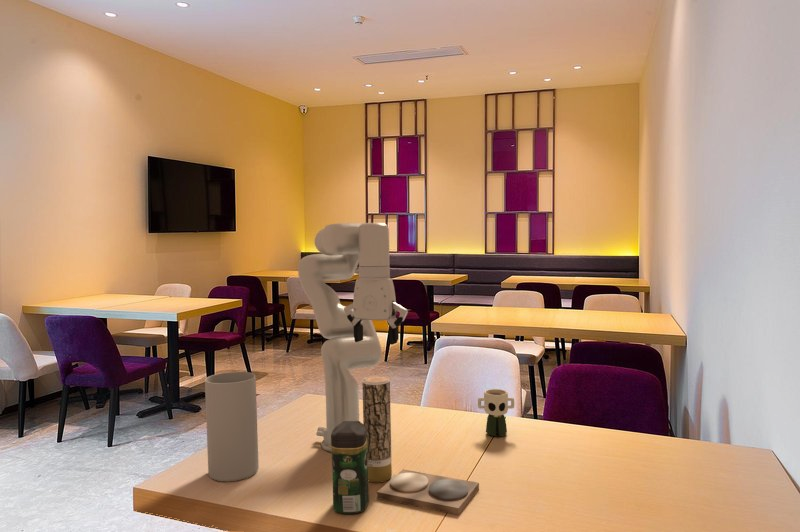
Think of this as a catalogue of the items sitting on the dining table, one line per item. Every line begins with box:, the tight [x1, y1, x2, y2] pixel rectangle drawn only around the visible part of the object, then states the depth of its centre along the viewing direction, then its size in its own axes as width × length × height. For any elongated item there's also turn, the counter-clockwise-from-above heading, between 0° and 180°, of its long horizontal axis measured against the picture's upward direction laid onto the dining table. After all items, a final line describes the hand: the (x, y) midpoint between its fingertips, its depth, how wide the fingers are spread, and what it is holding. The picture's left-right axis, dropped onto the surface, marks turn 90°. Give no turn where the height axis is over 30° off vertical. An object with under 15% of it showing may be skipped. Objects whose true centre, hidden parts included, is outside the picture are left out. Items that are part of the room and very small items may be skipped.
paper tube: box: [361, 375, 393, 484], centre depth 144 cm, size 7×7×25 cm
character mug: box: [477, 388, 515, 437], centre depth 174 cm, size 11×7×13 cm, turn 86°
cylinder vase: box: [204, 371, 260, 482], centre depth 149 cm, size 12×12×25 cm
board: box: [376, 468, 480, 516], centre depth 135 cm, size 20×14×2 cm
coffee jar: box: [330, 420, 370, 515], centre depth 129 cm, size 10×8×19 cm
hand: (375, 342), depth 143 cm, fingers open, 9 cm apart
